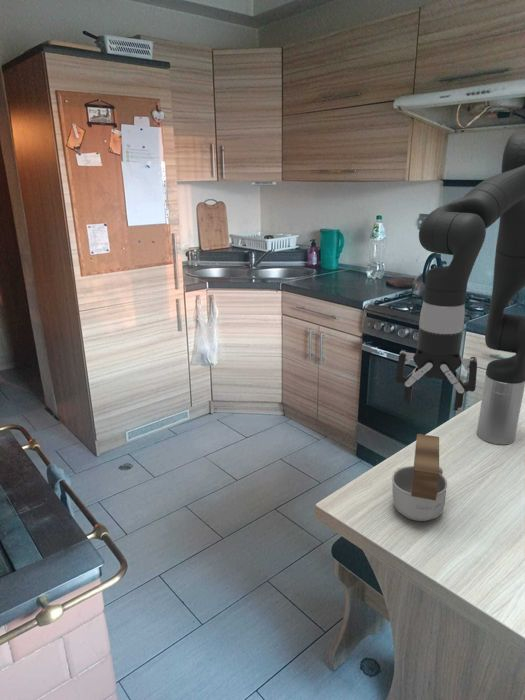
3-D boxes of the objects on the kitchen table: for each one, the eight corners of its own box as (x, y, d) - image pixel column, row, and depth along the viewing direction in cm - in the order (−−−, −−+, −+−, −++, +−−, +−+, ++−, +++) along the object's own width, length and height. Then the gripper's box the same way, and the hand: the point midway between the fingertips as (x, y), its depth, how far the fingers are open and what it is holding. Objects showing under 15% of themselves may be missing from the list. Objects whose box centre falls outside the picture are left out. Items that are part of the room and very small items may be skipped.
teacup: (418, 536, 97) (422, 502, 94) (378, 506, 105) (381, 474, 102) (464, 510, 103) (469, 478, 101) (423, 484, 112) (426, 453, 109)
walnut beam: (414, 457, 108) (417, 433, 106) (436, 461, 107) (439, 436, 104) (411, 496, 96) (414, 469, 93) (435, 500, 94) (439, 473, 92)
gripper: (482, 323, 91) (470, 402, 96) (402, 316, 95) (396, 392, 101) (484, 336, 84) (472, 420, 90) (398, 328, 89) (391, 408, 94)
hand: (431, 405), depth 95 cm, fingers open, 8 cm apart
